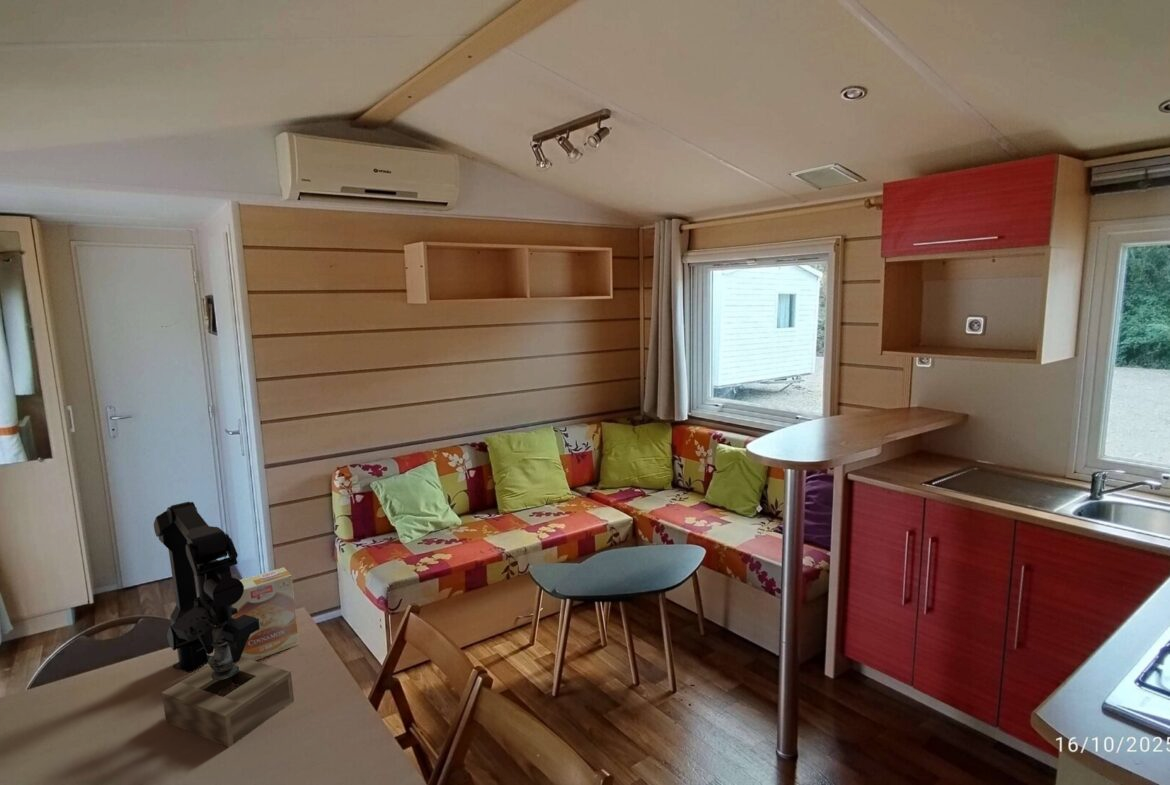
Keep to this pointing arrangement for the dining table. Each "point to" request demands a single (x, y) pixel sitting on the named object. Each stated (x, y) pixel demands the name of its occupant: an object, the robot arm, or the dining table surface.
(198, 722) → the beige rectangular hollow block
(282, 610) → the coffeecake box
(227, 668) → the grey chess piece
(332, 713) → the dining table surface
